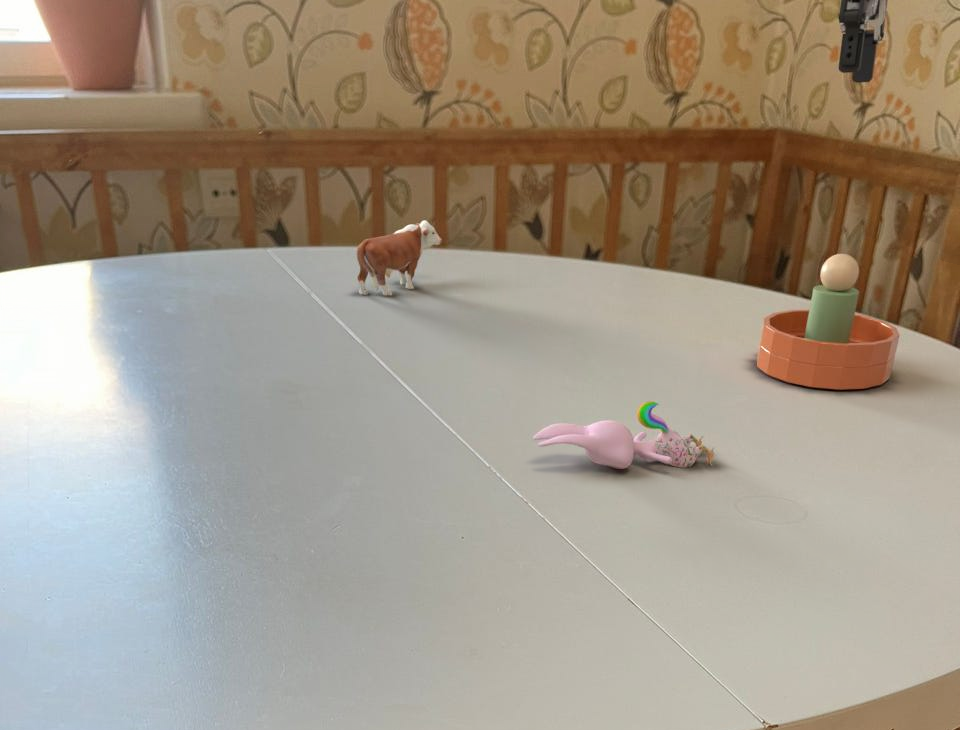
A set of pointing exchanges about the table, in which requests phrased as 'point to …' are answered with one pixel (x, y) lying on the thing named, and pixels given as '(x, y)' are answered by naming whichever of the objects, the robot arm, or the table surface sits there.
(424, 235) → the bull figurine
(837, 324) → the doll
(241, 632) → the table surface
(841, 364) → the bowl
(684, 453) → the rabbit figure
